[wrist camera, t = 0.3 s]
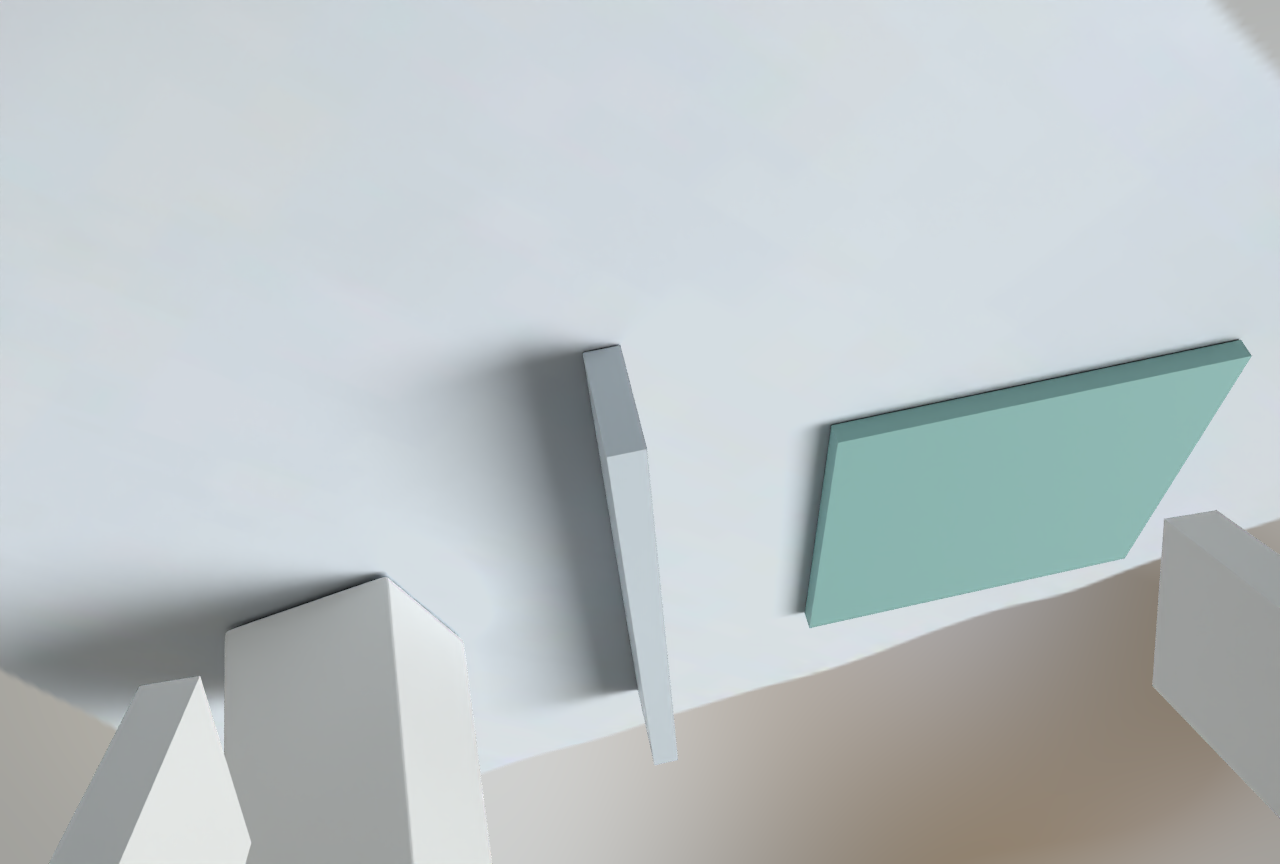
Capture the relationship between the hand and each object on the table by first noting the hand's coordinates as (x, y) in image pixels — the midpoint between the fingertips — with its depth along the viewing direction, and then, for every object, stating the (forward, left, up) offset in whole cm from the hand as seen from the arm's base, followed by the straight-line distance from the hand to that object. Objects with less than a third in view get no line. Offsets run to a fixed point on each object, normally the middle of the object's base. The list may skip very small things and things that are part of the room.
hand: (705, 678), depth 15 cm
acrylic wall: (+27, 0, -16) cm, 31 cm away
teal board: (+28, +16, -16) cm, 36 cm away
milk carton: (+28, -12, -16) cm, 34 cm away
